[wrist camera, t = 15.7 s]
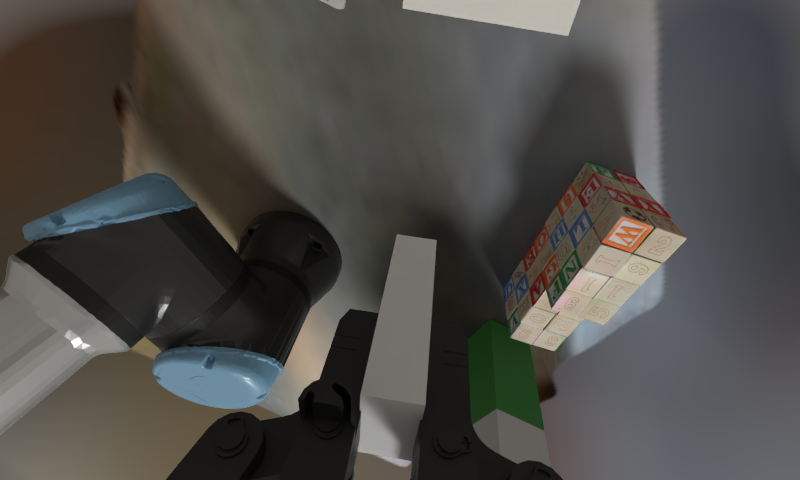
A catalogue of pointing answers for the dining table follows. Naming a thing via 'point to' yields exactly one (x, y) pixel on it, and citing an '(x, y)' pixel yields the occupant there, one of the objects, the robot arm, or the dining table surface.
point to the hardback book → (505, 395)
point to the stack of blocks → (588, 257)
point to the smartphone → (336, 3)
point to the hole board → (506, 12)
